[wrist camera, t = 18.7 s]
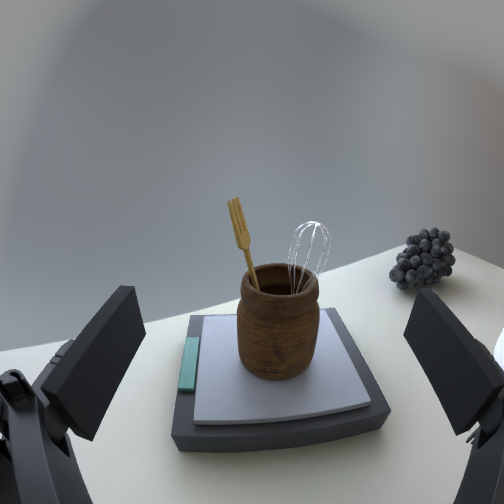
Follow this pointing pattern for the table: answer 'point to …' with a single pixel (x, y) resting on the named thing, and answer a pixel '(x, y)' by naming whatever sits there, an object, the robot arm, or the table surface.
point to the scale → (271, 393)
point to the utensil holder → (275, 311)
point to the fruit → (424, 259)
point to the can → (500, 350)
